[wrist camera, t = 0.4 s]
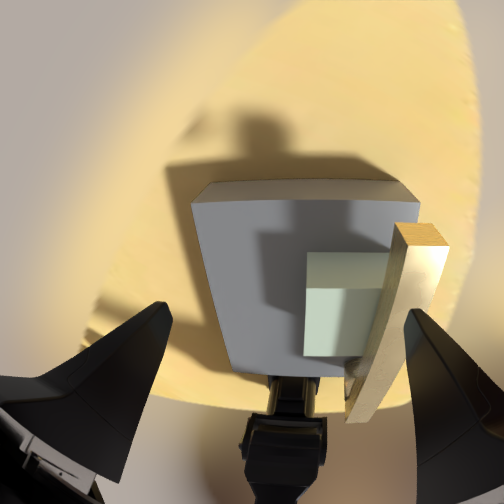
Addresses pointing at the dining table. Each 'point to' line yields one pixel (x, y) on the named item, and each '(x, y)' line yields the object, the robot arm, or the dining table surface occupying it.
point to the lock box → (286, 258)
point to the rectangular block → (341, 301)
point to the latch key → (394, 315)
